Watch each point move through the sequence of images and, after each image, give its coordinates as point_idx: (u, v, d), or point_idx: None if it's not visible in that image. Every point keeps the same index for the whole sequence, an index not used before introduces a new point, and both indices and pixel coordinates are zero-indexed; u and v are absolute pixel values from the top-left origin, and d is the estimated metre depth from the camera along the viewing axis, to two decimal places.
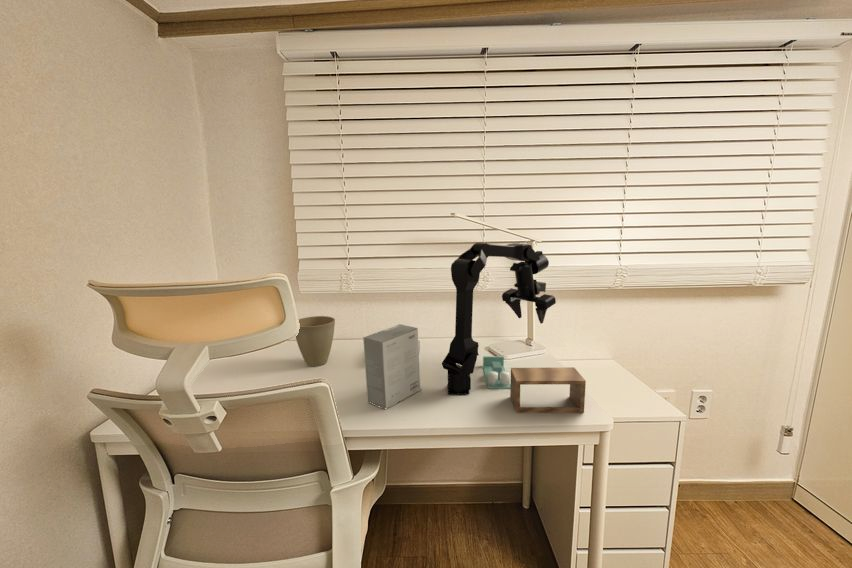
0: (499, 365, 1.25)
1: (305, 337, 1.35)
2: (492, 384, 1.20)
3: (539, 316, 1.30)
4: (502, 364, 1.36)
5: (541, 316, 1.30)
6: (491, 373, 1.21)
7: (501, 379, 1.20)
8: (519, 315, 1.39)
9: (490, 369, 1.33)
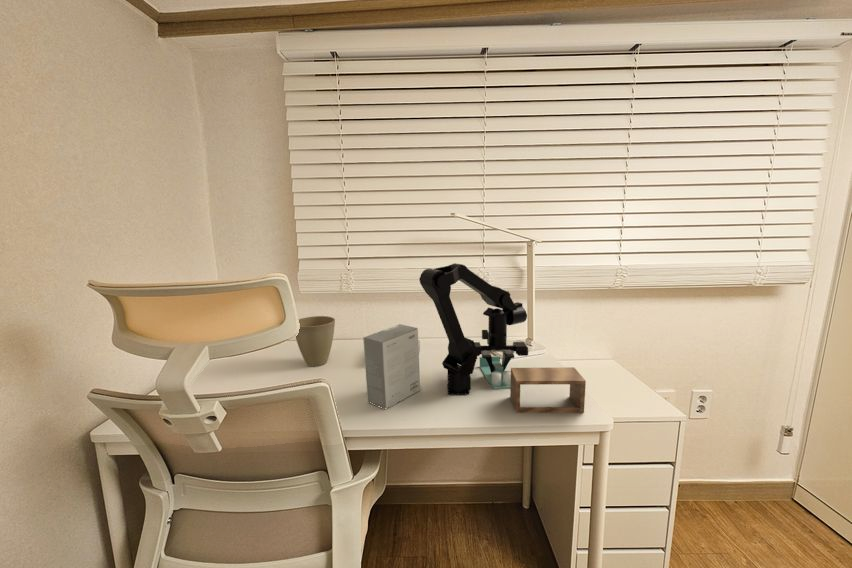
0: (500, 365, 1.25)
1: (305, 337, 1.35)
2: (496, 384, 1.20)
3: (505, 365, 1.24)
4: None
5: None
6: (494, 373, 1.21)
7: (504, 379, 1.20)
8: (492, 370, 1.26)
9: (488, 369, 1.32)
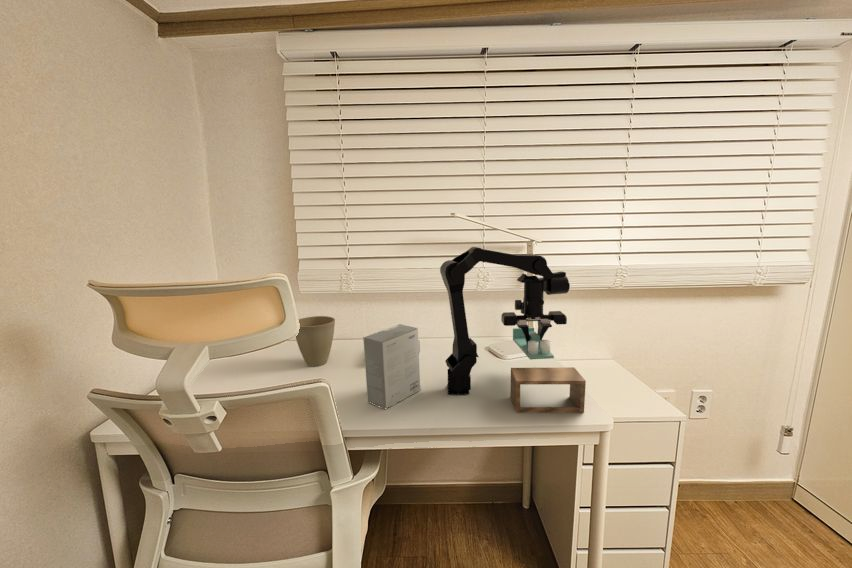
0: (536, 334, 1.19)
1: (305, 337, 1.35)
2: (533, 353, 1.14)
3: (542, 335, 1.18)
4: None
5: None
6: (531, 342, 1.15)
7: (542, 348, 1.14)
8: None
9: (522, 341, 1.27)
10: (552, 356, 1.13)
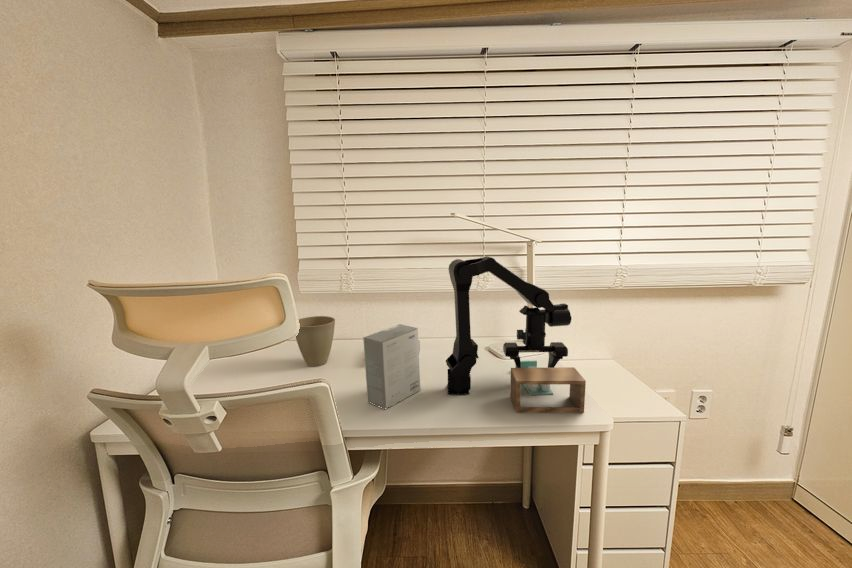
0: None
1: (305, 337, 1.35)
2: (533, 390, 1.15)
3: (553, 366, 1.19)
4: None
5: None
6: None
7: (542, 385, 1.16)
8: None
9: None
10: (551, 394, 1.14)
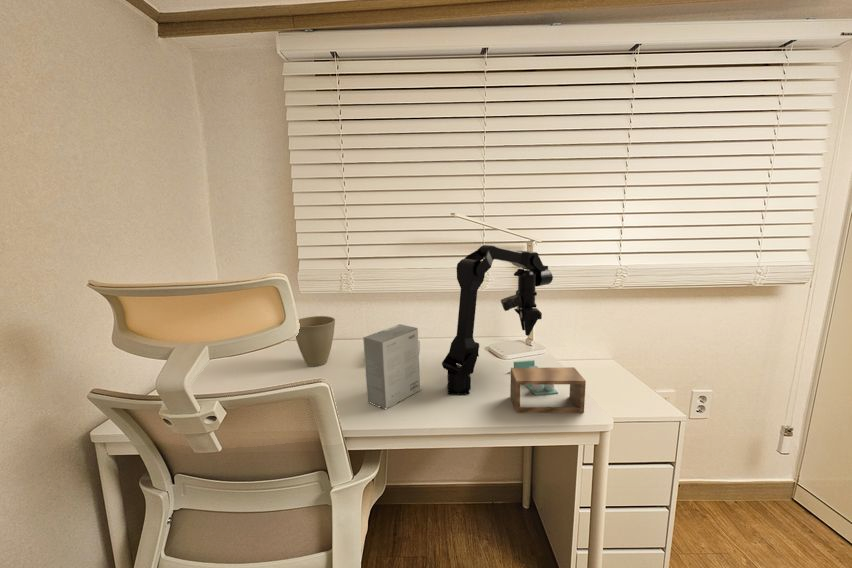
0: None
1: (305, 337, 1.35)
2: (538, 390, 1.15)
3: None
4: None
5: None
6: None
7: (546, 384, 1.16)
8: None
9: None
10: (556, 393, 1.15)
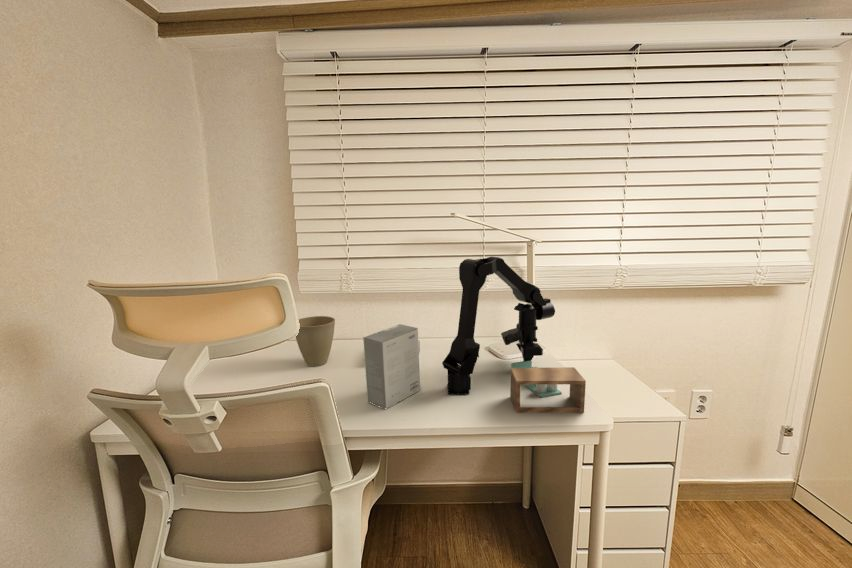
0: None
1: (305, 337, 1.35)
2: (542, 391, 1.14)
3: None
4: None
5: None
6: None
7: (550, 385, 1.15)
8: None
9: None
10: (560, 393, 1.15)
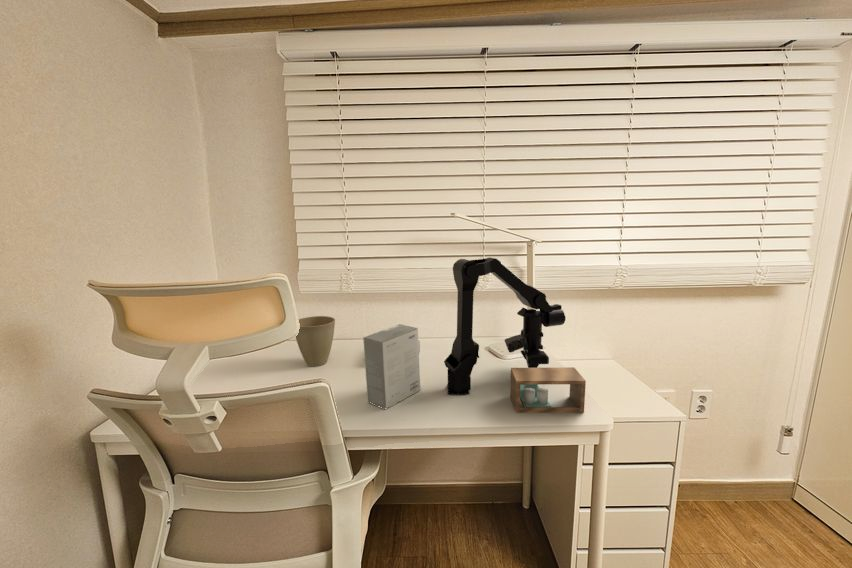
0: None
1: (305, 337, 1.35)
2: (529, 402, 1.08)
3: None
4: None
5: None
6: (527, 390, 1.09)
7: (539, 397, 1.08)
8: None
9: None
10: (549, 406, 1.07)
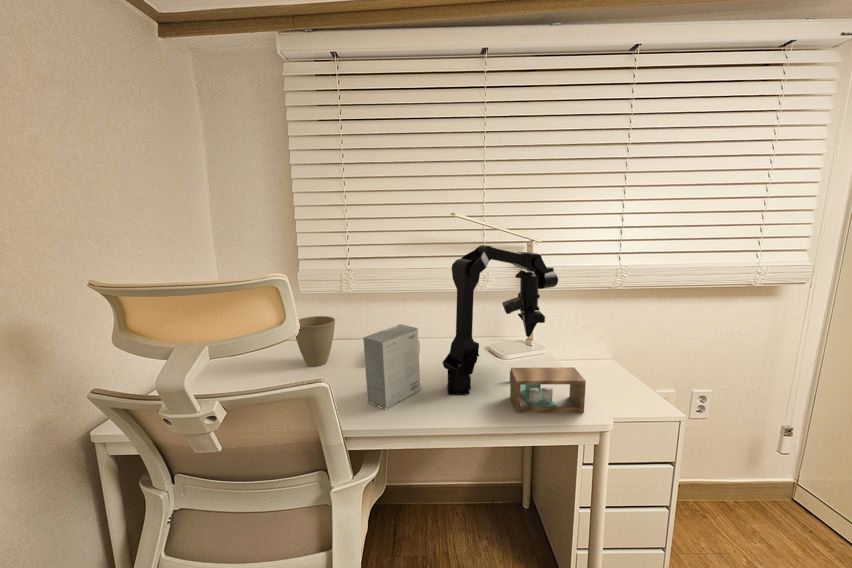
0: None
1: (305, 337, 1.35)
2: (535, 403, 1.08)
3: None
4: None
5: None
6: (533, 390, 1.09)
7: (544, 396, 1.08)
8: None
9: None
10: (555, 405, 1.08)
